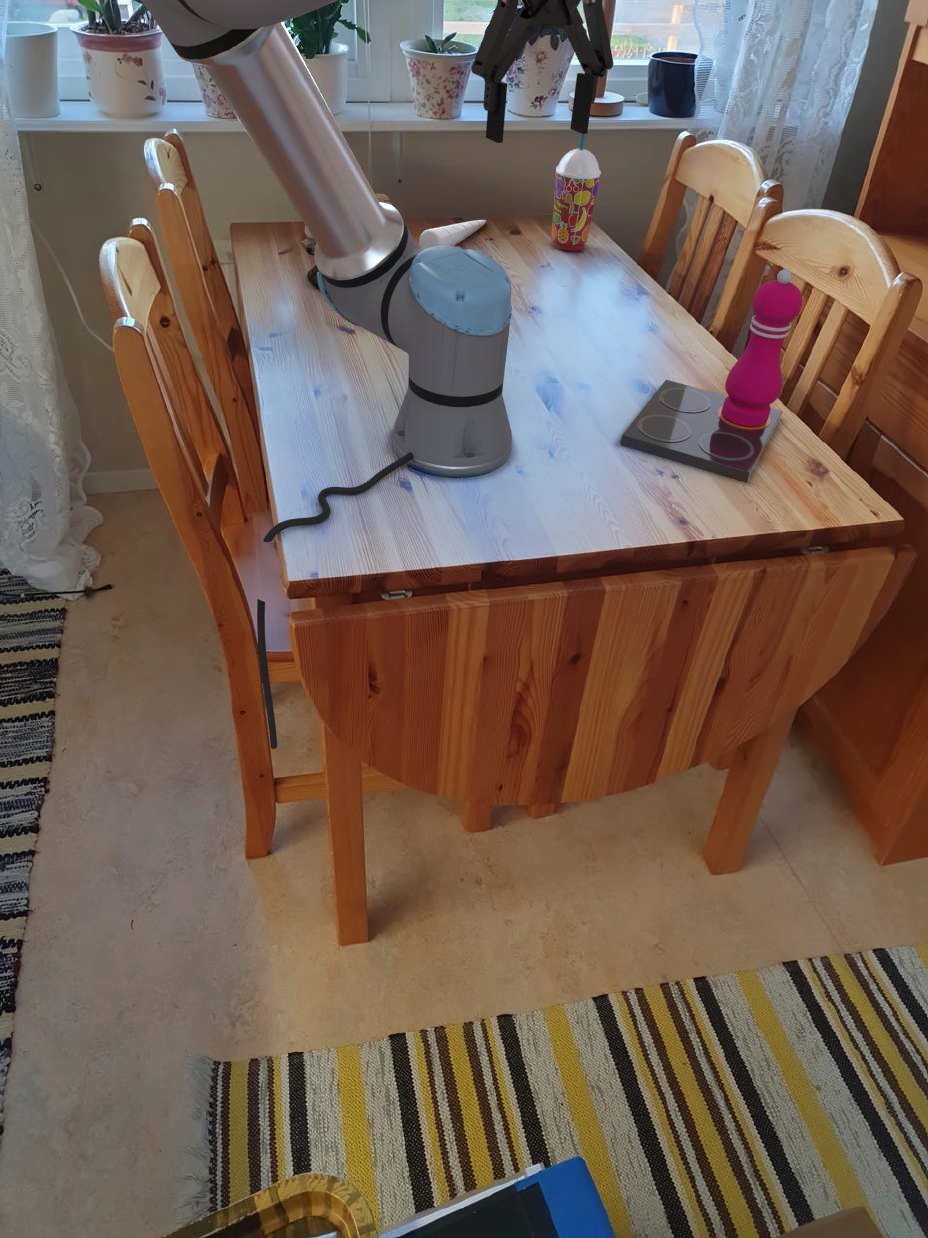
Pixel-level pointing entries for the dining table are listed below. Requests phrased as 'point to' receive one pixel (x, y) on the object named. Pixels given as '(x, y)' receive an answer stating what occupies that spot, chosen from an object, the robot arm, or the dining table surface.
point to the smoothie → (574, 198)
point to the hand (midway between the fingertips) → (537, 135)
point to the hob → (698, 432)
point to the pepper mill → (762, 353)
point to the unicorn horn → (448, 234)
